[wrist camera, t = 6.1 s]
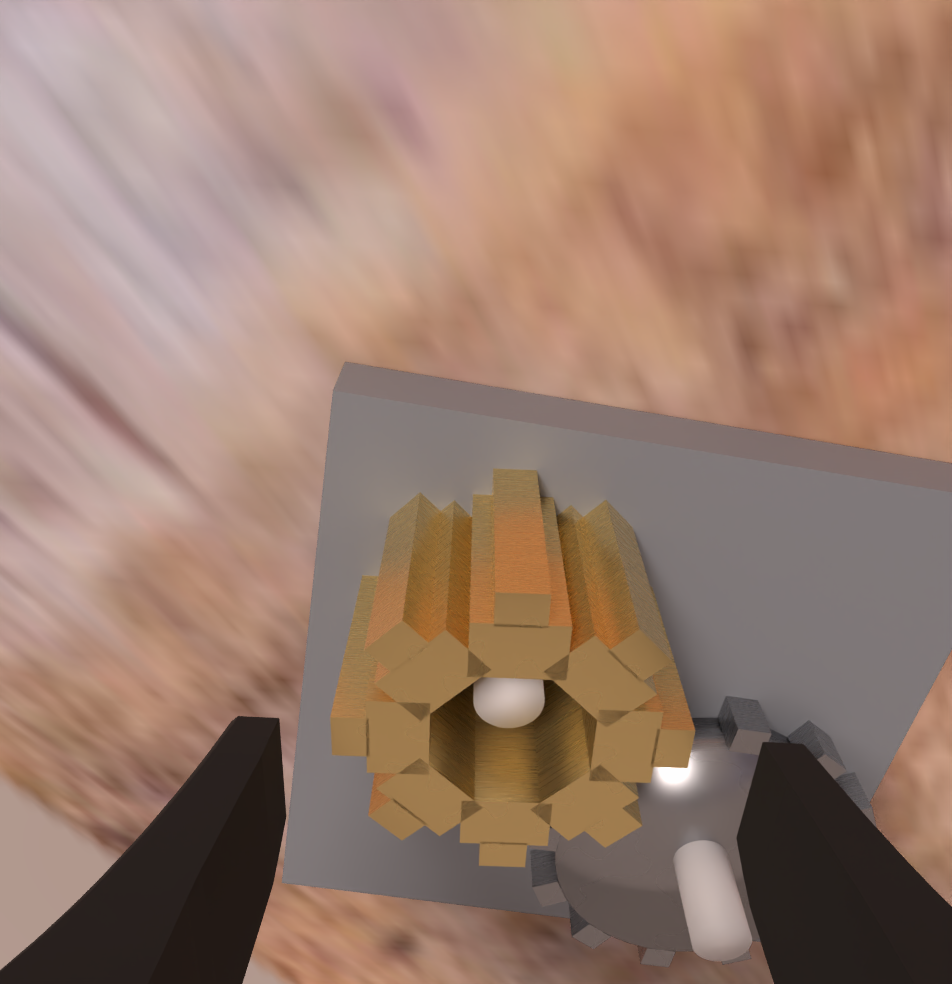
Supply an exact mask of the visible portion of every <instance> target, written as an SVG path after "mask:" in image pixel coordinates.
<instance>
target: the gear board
mask: <svg viewBox="0 0 952 984" xmlns="http://www.w3.org/2000/svg"><path fill="white" fill-rule="evenodd" d="M493 468H495V469H520V470H537V476H538V485H539V493H540V497H553V498H554V505H555V512H556V516H557V515H559V514H560V513H561V512H563V511H564V510H565V509H566V508H568V507H569V506H570V505H572V506H573V507H574V508H575V509H576V510H577V511H578V512H579V513H580V514H581V515H582V516H583V517H584V516H585V515H586V514H588V513H589V512H590V511H592V510H593V509H594V508H596V507H597V506H598V505H599V504H601V503H602V502H603V501H605V500H607V501H608V502H609V503H610V504H611V505H612V506H613V507H614V508H615V509H616V510H617V511H618V513H619V514H620V515H621V516H622V517H623V518H624V519H625V520H626V521H627V522H628V523H629V524H630V525H631V526H632V527H633V530H634V534H635V537H636V541H637V544H638V547H639V551H640V554H641V557H642V561H643V564H644V567H645V571H646V574H647V577H648V581H649V584H650V587H652V588H653V591H654V595H655V598H656V601H657V605H658V608H659V611H660V615H661V618H662V621H663V625H664V628H665V631H666V635H667V638H668V641H669V645H670V648H671V651H672V654H673V658H674V661H675V664H676V668H677V671H678V674H679V678H680V681H681V684H682V688H683V691H684V694H685V698H686V701H687V704H688V708H689V711H690V714H691V717H692V718H713V717H714V718H718V715H719V712H720V710H721V707H722V705H723V702H724V700H725V697H726V696H732V697H739V698H746V699H753V700H758V702H759V704H760V706H761V709H762V711H763V714H764V716H765V719H766V721H767V724H768V726H769V728H770V729H771V730H774V731H776V732H778V733H780V734H782V735H784V736H786V737H787V736H788V735H790V734H791V733H792V732H794V731H795V730H796V729H798V728H799V727H800V726H802V725H803V724H804V723H806V722H807V721H808V720H809V721H811V722H812V723H813V724H815V725H816V726H817V727H819V728H820V729H821V730H823V731H824V732H825V733H827V734H828V735H829V736H830V737H831V739H832V741H833V743H834V745H835V747H836V749H837V751H838V753H839V755H840V757H841V760H842V762H843V764H844V766H845V768H846V770H847V771H846V772H844V773H843V774H841V775H844V774H849V773H853V772H855V774H856V776H857V778H858V780H859V782H860V784H861V786H862V788H863V790H864V792H865V794H866V796H867V798H868V800H869V802H870V801H871V799H872V797H873V795H874V793H875V791H876V790H877V788H878V786H879V784H880V782H881V780H882V778H883V777H884V775H885V773H886V771H887V769H888V767H889V765H890V764H891V762H892V760H893V758H894V756H895V754H896V752H897V750H898V749H899V747H900V745H901V743H902V741H903V739H904V737H905V736H906V734H907V732H908V730H909V728H910V726H911V724H912V723H913V721H914V719H915V717H916V715H917V713H918V711H919V709H920V708H921V706H922V704H923V702H924V700H925V698H926V696H927V695H928V693H929V691H930V689H931V687H932V685H933V683H934V682H935V680H936V678H937V676H938V674H939V672H940V670H941V668H942V667H943V665H944V663H945V661H946V659H947V657H948V655H949V654H950V652H951V650H952V463H946V462H940V461H934V460H928V459H922V458H916V457H910V456H904V455H898V454H892V453H886V452H880V451H874V450H869V449H863V448H857V447H851V446H845V445H839V444H833V443H827V442H821V441H815V440H809V439H803V438H797V437H791V436H785V435H779V434H773V433H767V432H761V431H755V430H749V429H743V428H737V427H731V426H725V425H719V424H713V423H707V422H701V421H695V420H689V419H683V418H677V417H671V416H665V415H659V414H653V413H647V412H641V411H635V410H629V409H623V408H618V407H612V406H606V405H600V404H594V403H588V402H582V401H576V400H570V399H564V398H558V397H552V396H546V395H540V394H534V393H528V392H522V391H516V390H510V389H504V388H498V387H492V386H486V385H480V384H474V383H468V382H462V381H456V380H450V379H444V378H438V377H432V376H426V375H420V374H414V373H408V372H402V371H396V370H390V369H384V368H378V367H372V366H367V365H361V364H355V363H349V362H345V363H344V366H343V368H342V371H341V373H340V375H339V378H338V380H337V382H336V385H335V387H334V389H333V395H332V405H331V415H330V424H329V434H328V444H327V453H326V463H325V473H324V482H323V492H322V501H321V511H320V521H319V530H318V540H317V550H316V559H315V569H314V579H313V588H312V598H311V607H310V617H309V627H308V636H307V646H306V656H305V665H304V675H303V685H302V694H301V704H300V713H299V723H298V733H297V742H296V752H295V762H294V771H293V781H292V791H291V800H290V810H289V819H288V829H287V839H286V848H285V858H284V868H283V877H282V883H287V884H295V885H303V886H312V887H320V888H328V889H336V890H344V891H352V892H360V893H368V894H376V895H384V896H392V897H401V898H409V899H417V900H425V901H433V902H441V903H449V904H457V905H465V906H473V907H481V908H490V909H498V910H506V911H514V912H522V913H530V914H538V915H546V916H554V917H562V918H570V912H569V902H568V900H567V901H565V902H561V903H556V904H552V905H548V906H544V907H542V906H541V904H540V902H539V900H538V898H537V896H536V894H535V892H534V890H533V888H532V872H531V854H530V851H532V850H537V849H531V848H529V845H527V852H526V862H525V867H503V866H479V843H460V823H459V824H457V825H456V826H454V827H453V828H451V829H450V830H448V831H447V832H445V833H444V834H442V835H441V836H439V835H437V834H436V833H435V832H433V831H432V830H431V829H429V828H428V827H427V826H423V827H422V828H420V829H419V830H417V831H416V832H414V833H413V834H411V835H410V836H408V837H407V838H405V839H404V840H400V839H399V838H398V837H396V836H395V835H394V834H392V833H391V832H389V831H388V830H387V829H385V828H384V827H383V826H381V825H380V824H379V823H377V822H376V821H374V820H373V819H372V818H370V817H369V816H368V813H369V806H370V800H371V793H372V786H373V780H374V773H367V757H365V756H338V755H332V744H331V724H330V716H331V711H332V707H333V702H334V698H335V694H336V689H337V685H338V680H339V676H340V671H341V667H342V663H343V658H344V654H345V649H346V645H347V641H348V636H349V632H350V627H351V623H352V618H353V614H354V610H355V605H356V601H357V596H358V592H359V588H360V583H361V579H362V575H364V576H379V571H380V566H381V561H382V556H383V551H384V545H385V540H386V535H387V530H388V525H389V520H390V517H391V516H392V515H393V514H395V513H396V512H397V511H398V510H399V509H401V508H402V507H403V506H404V505H405V504H407V503H408V502H409V501H410V500H411V499H413V498H414V497H415V496H416V495H417V494H419V493H420V492H421V493H422V494H423V495H424V496H425V497H426V498H427V499H428V500H429V501H430V502H431V503H432V504H433V505H435V506H436V507H437V508H438V509H439V510H440V511H442V510H443V509H444V508H445V507H446V506H448V505H449V504H450V503H451V502H453V501H454V500H455V501H456V502H457V503H458V504H459V505H460V506H461V507H462V508H463V509H464V510H465V511H466V512H467V513H468V514H469V515H470V516H471V517H472V505H473V494H482V495H492V482H493ZM473 703H474V708H475V710H476V712H477V714H478V715H479V716H480V717H481V718H482V719H483V720H484V721H486V722H487V723H489V724H491V725H493V726H497V727H501V728H517V727H521V726H524V725H526V724H529V723H530V722H532V721H533V720H535V719H536V718H537V717H538V716H539V715H540V713H541V712H542V710H543V707H544V703H545V697H544V686H543V680H542V679H515V678H489V677H481V678H479V679H478V680H477V681H475V682H474V693H473ZM673 864H674V869H675V873H676V878H677V882H678V886H679V891H680V895H681V900H682V904H683V909H684V913H685V917H686V922H687V926H688V931H689V935H690V939H691V944H692V948H693V950H694V952H695V953H696V954H697V955H698V956H700V957H701V958H703V959H706V960H710V961H728V960H732V959H735V958H737V957H739V956H741V955H743V954H744V953H745V952H746V951H748V949H749V948H750V946H751V944H752V936H751V932H750V929H749V926H748V922H747V919H746V915H745V912H744V909H743V905H742V902H741V899H740V895H739V892H738V888H737V885H736V882H735V878H734V875H733V871H732V868H731V865H730V861H729V858H728V854H727V852H726V850H725V848H724V847H723V846H721V845H720V844H718V843H716V842H713V841H708V840H699V841H693V842H690V843H687V844H685V845H684V846H682V847H681V848H679V849H678V850H677V852H676V853H675V855H674V857H673ZM754 941H757V942H761V941H760V938H759V939H756V940H754Z"/></svg>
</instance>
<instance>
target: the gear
mask: <svg viewBox="0 0 952 984" xmlns="http://www.w3.org/2000/svg"><path fill="white" fill-rule="evenodd" d="M692 721H693V724H694V727H695V735H694V740H693V745H692V750H691V754H690V759H689V764H688V768H665V767H653V772H652V778H651V783H638V782H636V786H637V791H638V795H639V798H638V799H637V800H638V805H639V810H640V815H641V820H642V825H643V826H641V827H640V828H638V829H636V830H634V831H633V832H631V833H629V834H628V835H626V836H624V837H623V838H621V839H619V840H618V841H616V842H614V843H613V844H611V845H609V846H608V847H606V848H605V847H603V846H602V845H601V844H600V843H599V842H597V841H596V840H595V839H594V838H593V837H591V836H590V835H589V834H588V833H586V832H585V831H584V832H582V833H581V834H579V835H577V836H576V837H574V838H572V839H571V840H569V841H568V840H567V839H566V838H565V837H563V836H562V835H561V834H560V833H558V832H557V831H556V830H555V829H553V828H552V827H551V826H550V830H549V839H548V846H535V845H529V848H531V849H537V850H532V851H530V854H531V872H532V888H533V890H534V892H535V894H536V896H537V898H538V900H539V902H540V904H541V906H542V907H544V906H548V905H552V904H556V903H561V902H565V901H567V900H568V902H569V912H570V923H571V933H572V937H573V938H575V939H577V940H578V941H580V942H582V943H584V944H585V945H587V946H589V947H591V948H592V949H594V948H596V947H597V946H599V945H600V944H601V943H603V942H604V941H606V940H607V939H609V938H610V937H611V936H612V937H614V938H617V939H619V940H622V941H625V942H627V943H631V944H634V945H638V951H639V957H640V963H641V964H645V965H653V966H662V967H669V966H670V963H671V961H672V959H673V957H674V954H675V952H676V951H694V950H693V948H692V944H691V939H690V935H689V931H688V926H687V922H686V917H685V913H684V909H683V904H682V900H681V895H680V891H679V886H678V882H677V878H676V873H675V869H674V864H673V857H674V855H675V853H676V852H677V850H678V849H679V848H681V847H682V846H684V845H685V844H687V843H690V842H693V841H699V840H708V841H713V842H716V843H718V844H720V845H721V846H723V847H724V848H725V850H726V852H727V854H728V858H729V861H730V865H731V868H732V871H733V875H734V878H735V882H736V885H737V888H738V892H739V895H740V899H741V902H742V905H743V909H744V912H745V915H746V919H747V922H748V926H749V929H750V932H751V936H752V941H754V940H756V939H759V935H758V931H757V928H756V925H755V922H754V919H753V916H752V912H751V909H750V905H749V901H748V896H747V891H746V886H745V882H744V877H743V872H742V866H741V861H740V855H739V850H738V845H737V839H736V837H737V834H738V830H739V826H740V823H741V819H742V815H743V812H744V808H745V804H746V801H747V797H748V793H749V790H750V786H751V782H752V779H753V775H754V772H755V768H756V764H757V761H758V757H759V753H760V750H761V746H762V742H775V743H796V744H804V745H805V746H806V747H807V749H808V750H809V751H810V752H811V753H812V754H813V755H814V757H815V758H816V759H817V760H818V761H819V762H820V763H821V765H822V766H823V767H824V768H825V769H826V770H827V772H828V773H829V774H830V775H831V776H832V777H833V778H834V780H835V781H836V782H837V783H838V784H839V785H840V787H841V788H842V789H843V790H844V791H845V792H846V794H847V795H848V796H849V797H850V798H851V799H852V800H853V802H854V803H855V804H856V805H857V806H858V807H859V808H860V810H861V811H862V812H863V813H864V814H865V815H866V816H867V818H868V819H869V820H870V821H871V822H872V823H873V824H874V825H875V827H876V823H875V818H874V814H873V809H872V806H871V804H870V802H869V800H868V798H867V796H866V794H865V792H864V790H863V788H862V786H861V784H860V782H859V780H858V778H857V776H856V774H855V772H853V773H849V774H844V775H841V774H843V773H844V772H846V771H847V770H846V768H845V766H844V764H843V762H842V760H841V757H840V755H839V753H838V751H837V749H836V747H835V745H834V743H833V741H832V739H831V737H830V736H829V735H828V734H827V733H825V732H824V731H823V730H821V729H820V728H819V727H817V726H816V725H815V724H813V723H812V722H811V721H809V720H808V721H807V722H806V723H804V724H803V725H802V726H800V727H799V728H798V729H796V730H795V731H794V732H792V733H791V734H790V735H788V736H787V737H786V736H784V735H782V734H780V733H778V732H776V731H774V730H771V729H770V728H769V726H768V724H767V721H766V719H765V716H764V714H763V711H762V709H761V706H760V704H759V702H758V700H753V699H746V698H739V697H732V696H726V697H725V700H724V702H723V705H722V707H721V710H720V712H719V715H718V718H714V717H713V718H692ZM876 828H877V827H876ZM748 959H751V955H750V952H749V949H748V951H746V952H745V953H744V954H743V955H741V956H739V957H737V958H735V959H732V960H728V961H721V962H722V964H723V965H724V964H729V963H733V962H738V961H743V960H748Z"/></svg>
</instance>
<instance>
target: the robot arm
mask: <svg viewBox="0 0 952 984" xmlns="http://www.w3.org/2000/svg"><path fill="white" fill-rule="evenodd" d="M285 820H286V807H285V793H284V779H283V765H282V751H281V737H280V723H279V718H264V717H244V716H238V717H237V718H235V719H234V720H233V721H231V723H230V724H229V725H228V727H227V728H226V730H225V731H224V732H223V734H222V735H221V736H220V738H219V739H218V741H217V742H216V743H215V745H214V746H213V747H212V749H211V750H210V751H209V753H208V754H207V755H206V757H205V758H204V759H203V760H202V762H201V763H200V764H199V766H198V767H197V768H196V769H195V771H194V772H193V773H192V774H191V776H190V777H189V778H188V779H187V781H186V782H185V783H184V784H183V786H182V787H181V788H180V789H179V791H178V792H177V793H176V794H175V795H174V797H173V798H172V799H171V800H170V801H169V802H168V804H167V805H166V806H165V807H164V808H163V810H162V811H161V812H160V813H159V814H158V815H157V817H156V818H155V819H154V820H153V821H152V823H151V824H150V825H149V826H148V827H147V828H146V829H145V831H144V832H143V833H142V834H141V835H140V836H139V837H138V838H137V839H136V841H135V842H134V843H133V844H132V845H131V846H130V847H129V848H128V849H127V850H126V851H125V852H124V853H123V854H122V856H121V857H120V858H119V859H118V860H117V861H116V862H115V863H114V864H113V865H112V866H111V867H110V868H109V869H108V871H107V872H106V873H105V874H104V875H103V876H102V877H101V878H100V879H99V880H98V881H97V882H96V883H95V884H94V885H93V886H92V887H91V888H90V889H89V890H88V891H87V892H86V893H85V894H84V895H83V896H82V897H81V898H80V899H79V900H78V901H77V902H76V903H75V904H74V905H73V906H72V907H71V908H70V909H69V910H68V911H67V912H65V913H64V914H63V915H62V916H61V917H60V918H59V919H58V920H57V921H56V922H55V923H54V924H52V925H51V927H49V928H48V929H47V930H46V931H45V932H44V933H43V934H42V935H41V936H39V937H38V938H37V939H36V940H35V941H34V942H33V943H32V944H30V945H29V946H28V947H27V948H26V949H25V950H23V951H22V952H21V953H20V954H19V955H18V956H16V957H15V958H14V959H13V960H12V961H11V962H9V963H8V964H7V965H6V966H5V967H4V968H2V969H1V970H0V984H242V983H243V979H244V976H245V973H246V970H247V967H248V963H249V960H250V957H251V954H252V951H253V948H254V944H255V941H256V938H257V935H258V932H259V928H260V925H261V922H262V919H263V915H264V912H265V909H266V906H267V902H268V899H269V896H270V892H271V889H272V886H273V882H274V877H275V872H276V867H277V862H278V857H279V852H280V847H281V841H282V836H283V831H284V825H285ZM736 839H737V845H738V850H739V855H740V861H741V866H742V872H743V877H744V882H745V886H746V891H747V896H748V901H749V905H750V909H751V912H752V916H753V919H754V922H755V925H756V928H757V931H758V935H759V938H760V941H761V944H762V947H763V950H764V953H765V956H766V960H767V963H768V966H769V969H770V972H771V975H772V978H773V981H774V984H952V907H951V906H950V905H949V904H948V903H947V902H946V901H945V900H944V899H943V898H942V897H941V896H940V895H939V894H938V893H937V892H936V891H935V890H934V889H933V888H932V887H931V886H930V885H929V884H928V883H927V882H926V881H925V880H924V878H923V877H922V876H921V875H920V874H919V873H918V872H917V871H916V870H915V869H914V868H913V867H912V866H911V865H910V864H909V863H908V862H907V861H906V859H905V858H904V857H903V856H902V855H901V854H900V853H899V852H898V851H897V850H896V849H895V848H894V846H893V845H892V844H891V843H890V842H889V841H888V840H887V839H886V838H885V837H884V836H883V834H882V833H881V832H880V831H879V830H878V829H877V828H876V827H875V825H874V824H873V823H872V822H871V821H870V820H869V819H868V818H867V816H866V815H865V814H864V813H863V812H862V811H861V810H860V808H859V807H858V806H857V805H856V804H855V803H854V802H853V800H852V799H851V798H850V797H849V796H848V795H847V794H846V792H845V791H844V790H843V789H842V788H841V787H840V785H839V784H838V783H837V782H836V781H835V780H834V778H833V777H832V776H831V775H830V774H829V773H828V772H827V770H826V769H825V768H824V767H823V766H822V765H821V763H820V762H819V761H818V760H817V759H816V758H815V757H814V755H813V754H812V753H811V752H810V751H809V750H808V749H807V747H806V746H805V745H804V744H796V743H775V742H762V746H761V750H760V753H759V757H758V761H757V764H756V768H755V772H754V775H753V779H752V782H751V786H750V790H749V793H748V797H747V801H746V804H745V808H744V812H743V815H742V819H741V823H740V826H739V830H738V834H737V837H736Z"/></svg>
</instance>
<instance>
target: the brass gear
mask: <svg viewBox="0 0 952 984" xmlns="http://www.w3.org/2000/svg"><path fill="white" fill-rule="evenodd" d="M481 677H489V678H515V679H542V680H543V686H544V697H545V703H544V707H543V710H542V712H541V713H540V715H539V716H538V717H537V718H536V719H535V720H533V721H532V722H530V723H529V724H526V725H524V726H521V727H517V728H501V727H497V726H493V725H491V724H489V723H487V722H486V721H484V720H483V719H482V718H481V717H480V716H479V715H478V714H477V712H476V710H475V708H474V703H473V693H474V682H475V681H477V680H478V679H479V678H481ZM330 724H331V744H332V755H338V756H365V757H367V773H374V780H373V786H372V793H371V800H370V806H369V813H368V816H369V817H370V818H372V819H373V820H374V821H376V822H377V823H379V824H380V825H381V826H383V827H384V828H385V829H387V830H388V831H389V832H391V833H392V834H394V835H395V836H396V837H398V838H399V839H400V840H404V839H405V838H407V837H408V836H410V835H411V834H413V833H414V832H416V831H417V830H419V829H420V828H422V827H423V826H427V827H428V828H429V829H431V830H432V831H433V832H435V833H436V834H437V835H439V836H441V835H442V834H444V833H445V832H447V831H448V830H450V829H451V828H453V827H454V826H456V825H457V824H459V823H460V843H479V866H503V867H525V862H526V852H527V845H535V846H548V839H549V830H550V826H551V827H552V828H553V829H555V830H556V831H557V832H558V833H560V834H561V835H562V836H563V837H565V838H566V839H567V840H568V841H569V840H571V839H572V838H574V837H576V836H577V835H579V834H581V833H582V832H584V831H585V832H586V833H588V834H589V835H590V836H591V837H593V838H594V839H595V840H596V841H597V842H599V843H600V844H601V845H602V846H603V847H605V848H606V847H608V846H609V845H611V844H613V843H614V842H616V841H618V840H619V839H621V838H623V837H624V836H626V835H628V834H629V833H631V832H633V831H634V830H636V829H638V828H640V827H641V826H643V825H642V820H641V815H640V810H639V805H638V800H637V799H638V798H639V795H638V791H637V786H636V782H638V783H651V778H652V772H653V767H665V768H688V764H689V759H690V754H691V750H692V745H693V740H694V735H695V727H694V724H693V721H692V717H691V714H690V711H689V708H688V704H687V701H686V698H685V694H684V691H683V688H682V684H681V681H680V678H679V674H678V671H677V668H676V664H675V661H674V658H673V654H672V651H671V648H670V645H669V641H668V638H667V635H666V631H665V628H664V625H663V621H662V618H661V615H660V611H659V608H658V605H657V601H656V598H655V595H654V591H653V588H652V587H650V584H649V581H648V577H647V574H646V571H645V567H644V564H643V561H642V557H641V554H640V551H639V547H638V544H637V541H636V537H635V534H634V530H633V527H632V526H631V525H630V524H629V523H628V522H627V521H626V520H625V519H624V518H623V517H622V516H621V515H620V514H619V513H618V511H617V510H616V509H615V508H614V507H613V506H612V505H611V504H610V503H609V502H608V501H607V500H605V501H603V502H602V503H601V504H599V505H598V506H597V507H596V508H594V509H593V510H592V511H590V512H589V513H588V514H586V515H585V516H584V517H583V516H582V515H581V514H580V513H579V512H578V511H577V510H576V509H575V508H574V507H573V506H572V505H570V506H569V507H568V508H566V509H565V510H564V511H563V512H561V513H560V514H559V515H557V516H556V512H555V505H554V498H553V497H540V493H539V485H538V476H537V470H520V469H495V468H493V482H492V495H482V494H473V505H472V517H471V516H470V515H469V514H468V513H467V512H466V511H465V510H464V509H463V508H462V507H461V506H460V505H459V504H458V503H457V502H456V501H455V500H454V501H453V502H451V503H450V504H449V505H448V506H446V507H445V508H444V509H443V510H442V511H440V510H439V509H438V508H437V507H436V506H435V505H433V504H432V503H431V502H430V501H429V500H428V499H427V498H426V497H425V496H424V495H423V494H422V493H421V492H420V493H419V494H417V495H416V496H415V497H414V498H413V499H411V500H410V501H409V502H408V503H407V504H405V505H404V506H403V507H402V508H401V509H399V510H398V511H397V512H396V513H395V514H393V515H392V516H391V517H390V520H389V525H388V530H387V535H386V540H385V545H384V551H383V556H382V561H381V566H380V571H379V576H364V575H362V579H361V583H360V588H359V592H358V596H357V601H356V605H355V610H354V614H353V618H352V623H351V627H350V632H349V636H348V641H347V645H346V649H345V654H344V658H343V663H342V667H341V671H340V676H339V680H338V685H337V689H336V694H335V698H334V702H333V707H332V711H331V716H330Z"/></svg>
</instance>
